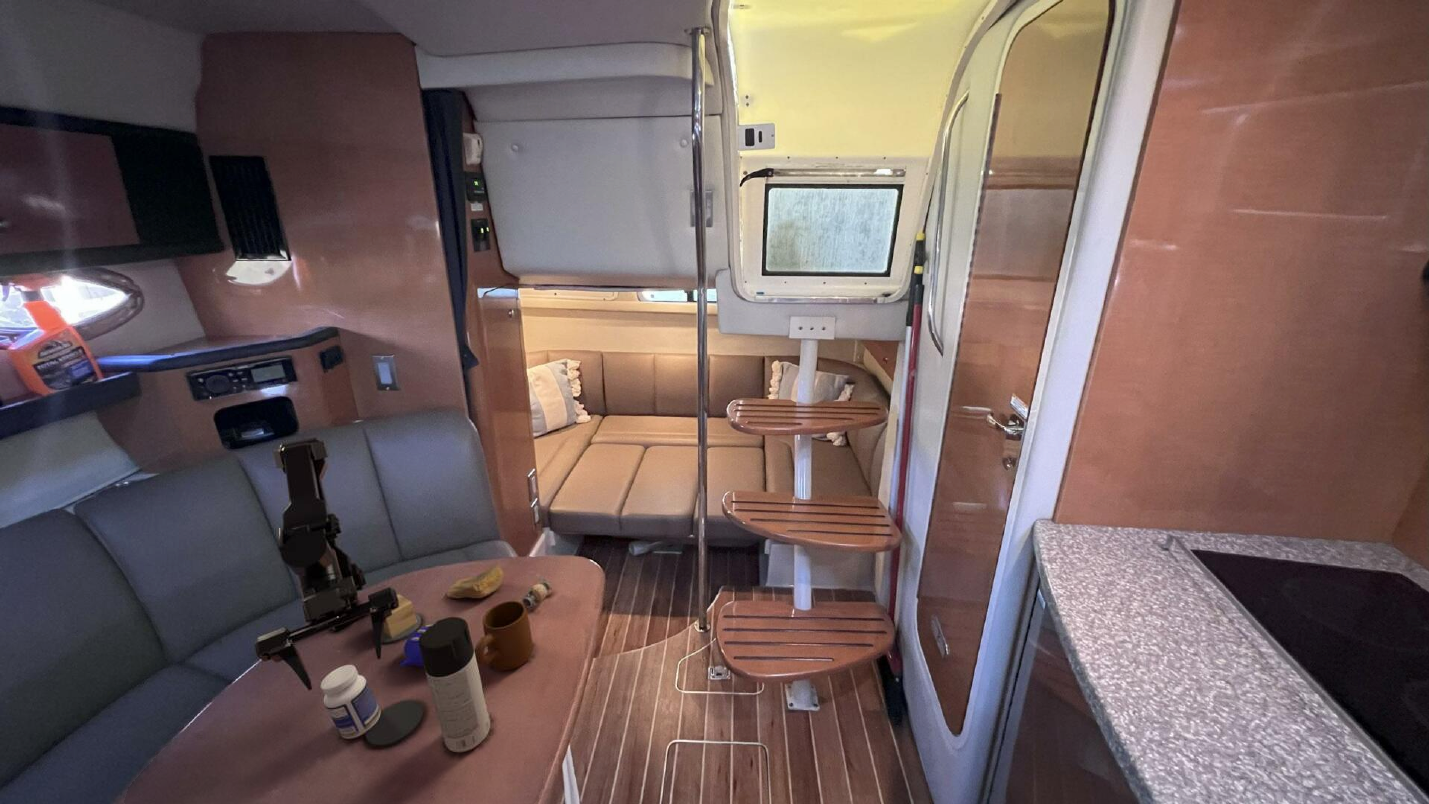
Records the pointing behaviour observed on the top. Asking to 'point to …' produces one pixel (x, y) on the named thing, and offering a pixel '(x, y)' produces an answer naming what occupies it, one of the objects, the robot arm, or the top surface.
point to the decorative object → (414, 649)
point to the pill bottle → (350, 702)
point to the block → (400, 618)
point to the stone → (478, 584)
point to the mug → (505, 636)
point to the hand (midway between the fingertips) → (345, 673)
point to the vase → (537, 593)
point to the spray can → (455, 683)
